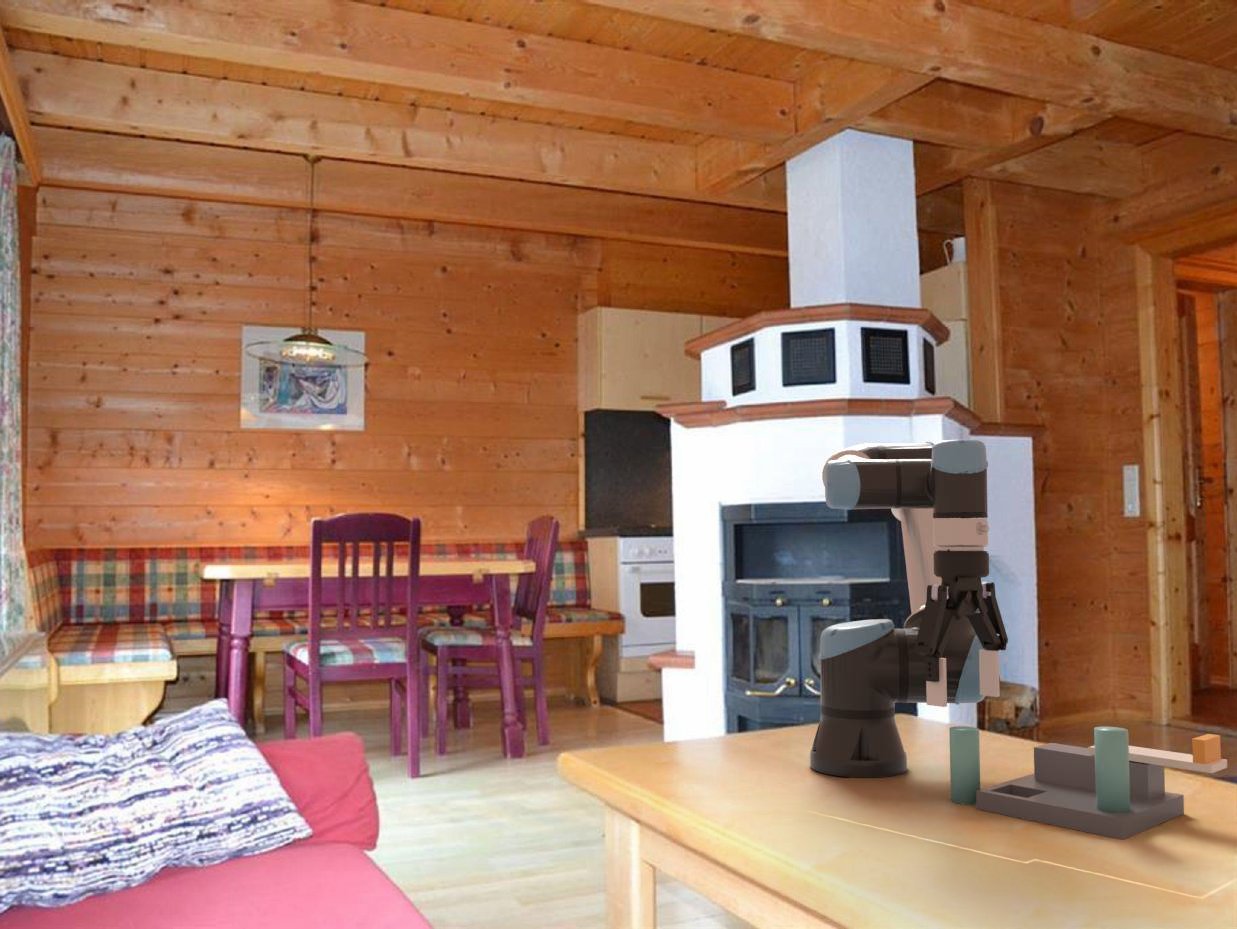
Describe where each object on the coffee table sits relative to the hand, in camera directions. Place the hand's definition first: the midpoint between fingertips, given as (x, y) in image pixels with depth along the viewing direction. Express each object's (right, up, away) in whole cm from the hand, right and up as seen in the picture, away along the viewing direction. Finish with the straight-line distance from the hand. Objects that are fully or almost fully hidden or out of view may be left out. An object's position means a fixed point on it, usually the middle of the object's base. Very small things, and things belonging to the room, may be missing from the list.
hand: (964, 700), depth 160 cm
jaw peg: (0, -14, 0) cm, 14 cm away
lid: (+23, -6, -9) cm, 25 cm away
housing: (+14, -14, -7) cm, 20 cm away
